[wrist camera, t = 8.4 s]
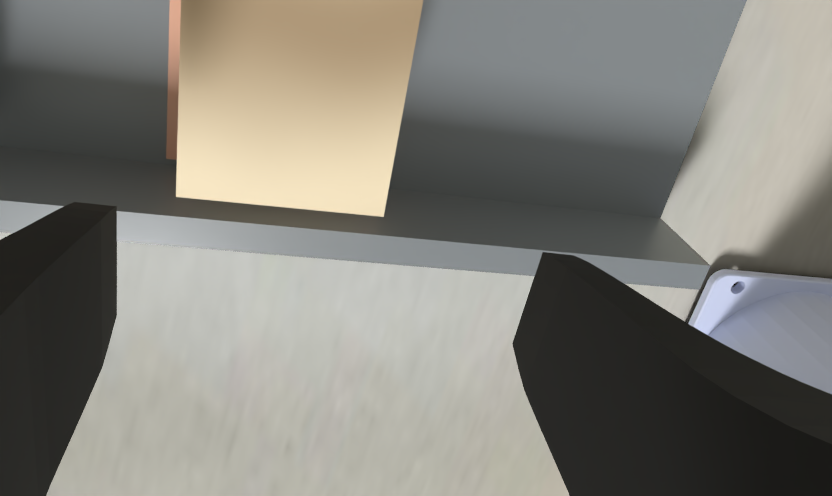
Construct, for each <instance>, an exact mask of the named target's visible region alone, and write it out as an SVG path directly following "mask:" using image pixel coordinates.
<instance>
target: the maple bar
mask: <svg viewBox="0 0 832 496" xmlns="http://www.w3.org/2000/svg"><path fill="white" fill-rule="evenodd" d="M422 5H423V0H181V19H180V57H179V96H178V134H177V172H176V197H182V198H192V199H203V200H213V201H224V202H234V203H244V204H255V205H265V206H276V207H286V208H296V209H307V210H317V211H328V212H338V213H348V214H359V215H369V216H380V217H384V212H385V206H386V201H387V196H388V190H389V185H390V179H391V174H392V168H393V163H394V157H395V152H396V147H397V141H398V136H399V130H400V125H401V119H402V114H403V109H404V103H405V98H406V92H407V87H408V81H409V76H410V70H411V65H412V60H413V54H414V49H415V43H416V38H417V32H418V27H419V21H420V16H421V11H422Z"/></svg>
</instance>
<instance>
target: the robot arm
mask: <svg viewBox="0 0 832 496" xmlns="http://www.w3.org/2000/svg"><path fill="white" fill-rule="evenodd" d="M736 282H738V283H737V284H736V285H735V286H734V287H732V286H733V284H734V283H736ZM731 287H732V288H731ZM116 315H117V206H108V205H99V204H90V203H80V202H73V203H71V204H68V205H66V206H64V207H62V208H60V209H58V210H56V211H54V212H52V213H50V214H48V215H46V216H45V217H43V218H41V219H39V220H37V221H35V222H33V223H32V224H30V225H28V226H26V227H24V228H22V229H20V230H18V231H17V232H15V233H13V234H11V235H9V236H7V237H5V238H3V239H1V240H0V496H46V494H47V492H48V489H49V487H50V484H51V482H52V480H53V477H54V475H55V473H56V471H57V468H58V466H59V464H60V462H61V459H62V457H63V455H64V453H65V450H66V448H67V446H68V444H69V442H70V439H71V437H72V435H73V433H74V430H75V428H76V426H77V424H78V421H79V419H80V417H81V415H82V412H83V410H84V408H85V406H86V403H87V401H88V399H89V396H90V394H91V392H92V390H93V387H94V385H95V383H96V380H97V378H98V376H99V373H100V371H101V369H102V366H103V363H104V359H105V356H106V352H107V349H108V345H109V342H110V338H111V334H112V330H113V327H114V323H115V319H116ZM513 347H514V352H515V356H516V360H517V364H518V369H519V372H520V376H521V379H522V383H523V387H524V390H525V392H526V395H527V397H528V400H529V402H530V405H531V407H532V409H533V412H534V414H535V417H536V419H537V421H538V424H539V426H540V428H541V431H542V433H543V435H544V437H545V440H546V442H547V444H548V447H549V449H550V451H551V453H552V456H553V458H554V460H555V463H556V465H557V467H558V469H559V472H560V474H561V476H562V479H563V481H564V483H565V485H566V488H567V490H568V492H569V495H570V496H832V279H828V278H817V277H806V276H795V275H784V274H774V273H763V272H752V271H741V270H730V269H722V270H719V271H716V272H715V273H714V274H712V275H711V276H710V278H709V279H708V281H707V283H706V286H705V288H704V290H703V292H702V294H701V297H700V299H699V301H698V303H697V305H696V308H695V310H694V312H693V314H692V316H691V319H690V321H689V323H686V322H684V321H683V320H681V319H679V318H678V317H676V316H674V315H673V314H671V313H670V312H668V311H666V310H665V309H663V308H662V307H660V306H658V305H657V304H655V303H654V302H652V301H650V300H649V299H647V298H646V297H644V296H643V295H641V294H639V293H638V292H636V291H635V290H633V289H632V288H630V287H629V286H627V285H625V284H624V283H622V282H621V281H619V280H617V279H616V278H614V277H613V276H611V275H609V274H608V273H606V272H605V271H603V270H601V269H599V268H598V267H596V266H594V265H593V264H591V263H589V262H587V261H585V260H583V259H581V258H579V257H576V256H574V255H566V254H557V253H547V252H543V253H542V256H541V259H540V262H539V265H538V268H537V271H536V274H535V277H534V280H533V283H532V286H531V289H530V292H529V295H528V298H527V301H526V304H525V307H524V310H523V313H522V316H521V319H520V323H519V326H518V329H517V332H516V335H515V338H514V341H513Z"/></svg>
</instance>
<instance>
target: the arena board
mask: <svg viewBox="0 0 832 496" xmlns="http://www.w3.org/2000/svg"><path fill="white" fill-rule="evenodd" d="M746 1H747V0H423V5H422V11H421V16H420V21H419V27H418V32H417V38H416V43H415V49H414V54H413V60H412V65H411V70H410V76H409V81H408V87H407V92H406V98H405V103H404V109H403V114H402V119H401V125H400V130H399V136H398V141H397V147H396V152H395V157H394V163H393V168H392V174H391V179H390V185H389V190H388V196H387V201H386V206H385V212H384V217H380V216H369V215H359V214H348V213H338V212H328V211H317V210H307V209H296V208H286V207H276V206H265V205H255V204H244V203H234V202H224V201H213V200H203V199H192V198H182V197H176V172H177V134H178V96H179V57H180V19H181V0H0V232H6V233H15V232H17V231H18V230H20V229H22V228H24V227H26V226H28V225H30V224H32V223H33V222H35V221H37V220H39V219H41V218H43V217H45V216H46V215H48V214H50V213H52V212H54V211H56V210H58V209H60V208H62V207H64V206H66V205H68V204H71V203H73V202H80V203H90V204H99V205H108V206H117V242H127V243H140V244H152V245H164V246H176V247H188V248H200V249H212V250H225V251H237V252H249V253H261V254H273V255H285V256H297V257H310V258H322V259H334V260H346V261H358V262H370V263H383V264H395V265H407V266H419V267H431V268H443V269H455V270H468V271H480V272H492V273H504V274H516V275H528V276H535V274H536V271H537V268H538V265H539V262H540V259H541V256H542V253H543V252H547V253H557V254H566V255H574V256H576V257H579V258H581V259H583V260H585V261H587V262H589V263H591V264H593V265H594V266H596V267H598V268H599V269H601V270H603V271H605V272H606V273H608V274H609V275H611V276H613V277H614V278H616V279H617V280H619V281H621V282H622V283H626V284H638V285H650V286H662V287H674V288H686V289H698V290H700V288H701V286H702V284H703V281H704V279H705V277H706V275H707V273H708V270H709V268H710V265H709V264H708V263H707V262H706V261H705V260H704V259H703V258H702V257H701V256H700V255H699V254H698V253H697V252H695V251H694V250H693V249H692V248H691V247H690V246H689V245H688V244H687V243H686V242H685V241H684V240H683V239H682V238H681V237H680V236H679V235H678V234H676V233H675V232H674V231H673V230H672V229H671V228H670V227H669V226H668V225H667V224H666V223H665V222H664V221H663V220H662V219H661V218H660V217H661V215H662V212H663V210H664V207H665V205H666V202H667V200H668V197H669V195H670V192H671V190H672V187H673V185H674V182H675V180H676V177H677V175H678V172H679V170H680V167H681V165H682V162H683V159H684V157H685V154H686V152H687V149H688V147H689V144H690V142H691V139H692V137H693V134H694V132H695V129H696V127H697V124H698V122H699V119H700V117H701V114H702V112H703V109H704V107H705V104H706V102H707V99H708V96H709V94H710V91H711V89H712V86H713V84H714V81H715V79H716V76H717V74H718V71H719V69H720V66H721V64H722V61H723V59H724V56H725V54H726V51H727V49H728V46H729V44H730V41H731V38H732V36H733V33H734V31H735V28H736V26H737V23H738V21H739V18H740V16H741V13H742V11H743V8H744V6H745V3H746Z"/></svg>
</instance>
